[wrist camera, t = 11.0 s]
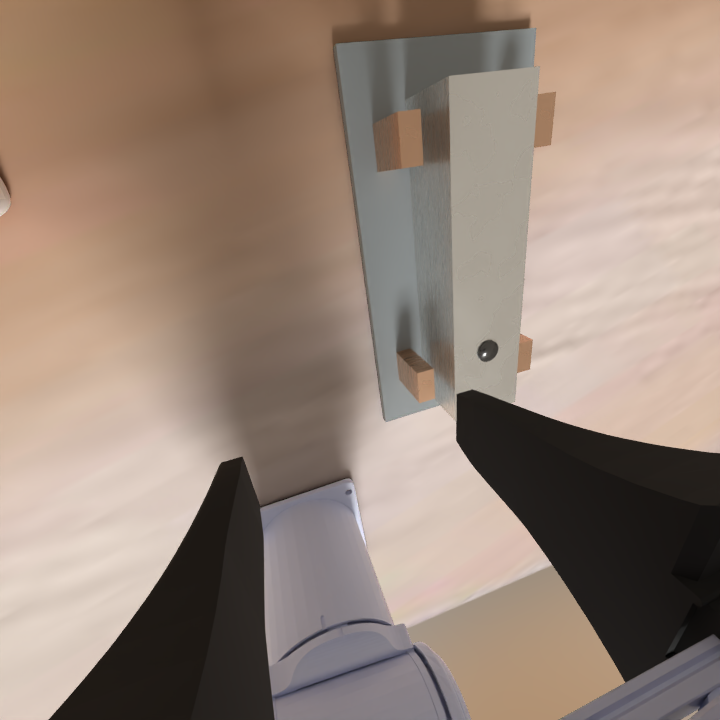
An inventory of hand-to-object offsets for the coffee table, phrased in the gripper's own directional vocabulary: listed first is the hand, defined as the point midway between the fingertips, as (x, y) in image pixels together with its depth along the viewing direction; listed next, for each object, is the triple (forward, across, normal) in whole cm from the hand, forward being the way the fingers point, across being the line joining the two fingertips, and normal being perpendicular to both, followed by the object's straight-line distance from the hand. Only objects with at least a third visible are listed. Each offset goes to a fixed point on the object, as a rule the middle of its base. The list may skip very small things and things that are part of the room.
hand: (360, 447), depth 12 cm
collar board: (+10, -9, -3) cm, 14 cm away
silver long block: (+10, -9, -3) cm, 13 cm away
